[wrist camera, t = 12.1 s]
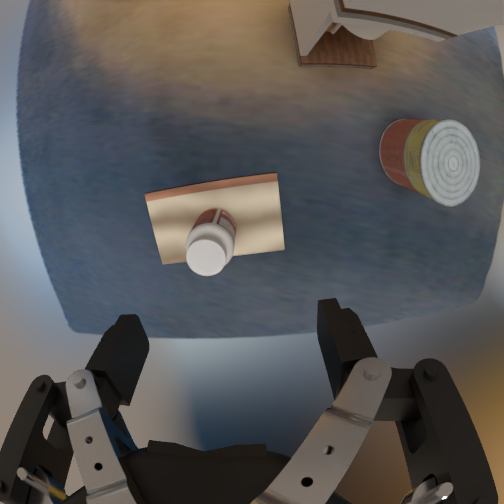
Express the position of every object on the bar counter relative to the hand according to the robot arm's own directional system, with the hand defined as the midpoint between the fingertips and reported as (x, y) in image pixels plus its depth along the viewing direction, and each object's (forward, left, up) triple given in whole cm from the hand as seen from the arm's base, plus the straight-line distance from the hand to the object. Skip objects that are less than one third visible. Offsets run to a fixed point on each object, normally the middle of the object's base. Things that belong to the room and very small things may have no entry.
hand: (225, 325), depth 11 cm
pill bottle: (+5, -5, -30) cm, 31 cm away
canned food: (-4, +27, -31) cm, 41 cm away
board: (+4, -5, -31) cm, 31 cm away
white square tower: (-23, +16, -31) cm, 41 cm away
